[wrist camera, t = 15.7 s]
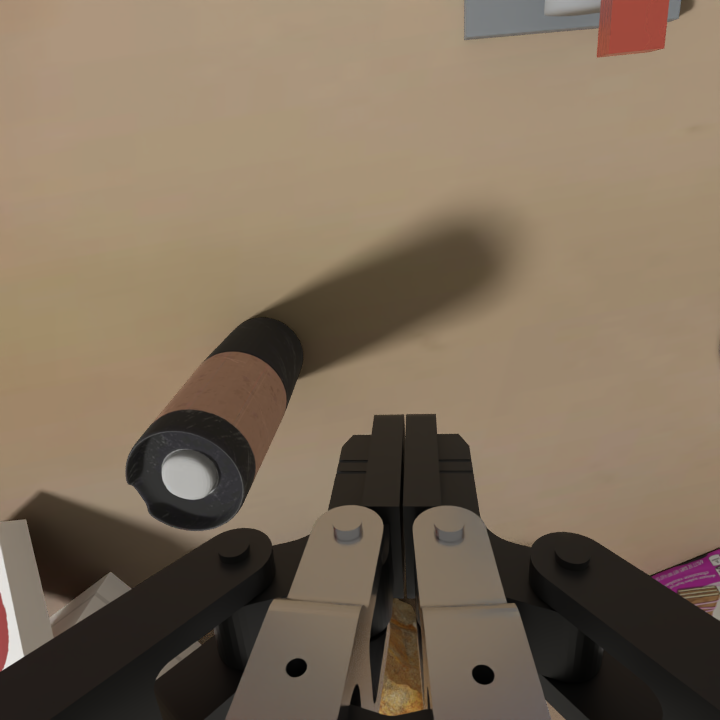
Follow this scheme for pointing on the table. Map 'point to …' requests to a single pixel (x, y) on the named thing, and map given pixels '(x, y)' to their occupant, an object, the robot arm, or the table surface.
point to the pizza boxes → (43, 600)
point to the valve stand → (535, 16)
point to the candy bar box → (696, 582)
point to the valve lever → (631, 26)
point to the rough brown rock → (402, 664)
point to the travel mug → (217, 428)
